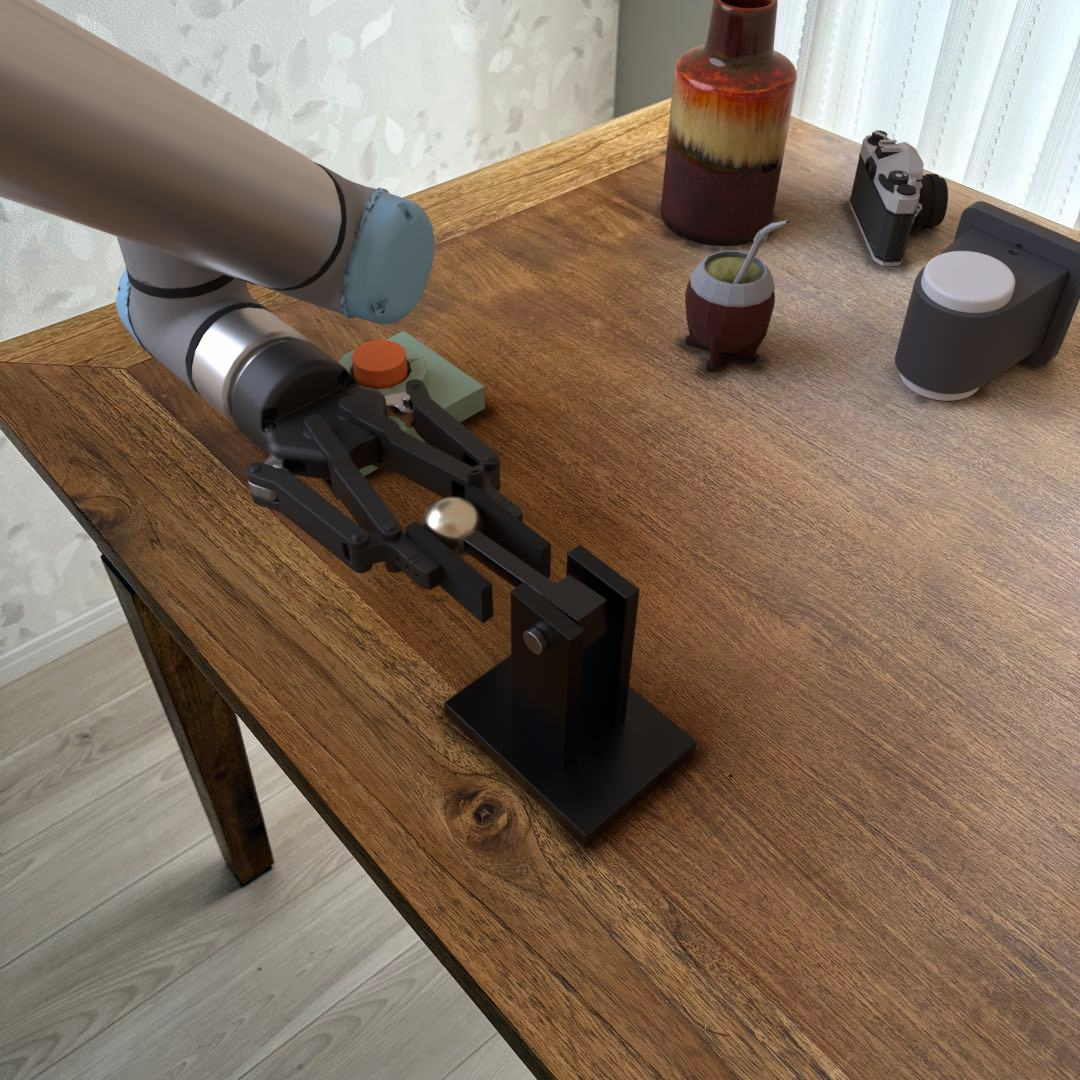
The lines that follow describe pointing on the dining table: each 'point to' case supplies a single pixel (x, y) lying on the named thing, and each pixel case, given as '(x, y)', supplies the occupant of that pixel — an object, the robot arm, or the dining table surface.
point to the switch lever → (514, 564)
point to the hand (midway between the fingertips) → (516, 583)
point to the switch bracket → (572, 709)
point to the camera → (894, 197)
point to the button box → (431, 383)
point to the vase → (728, 127)
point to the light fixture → (988, 304)
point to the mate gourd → (731, 303)
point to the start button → (379, 364)
